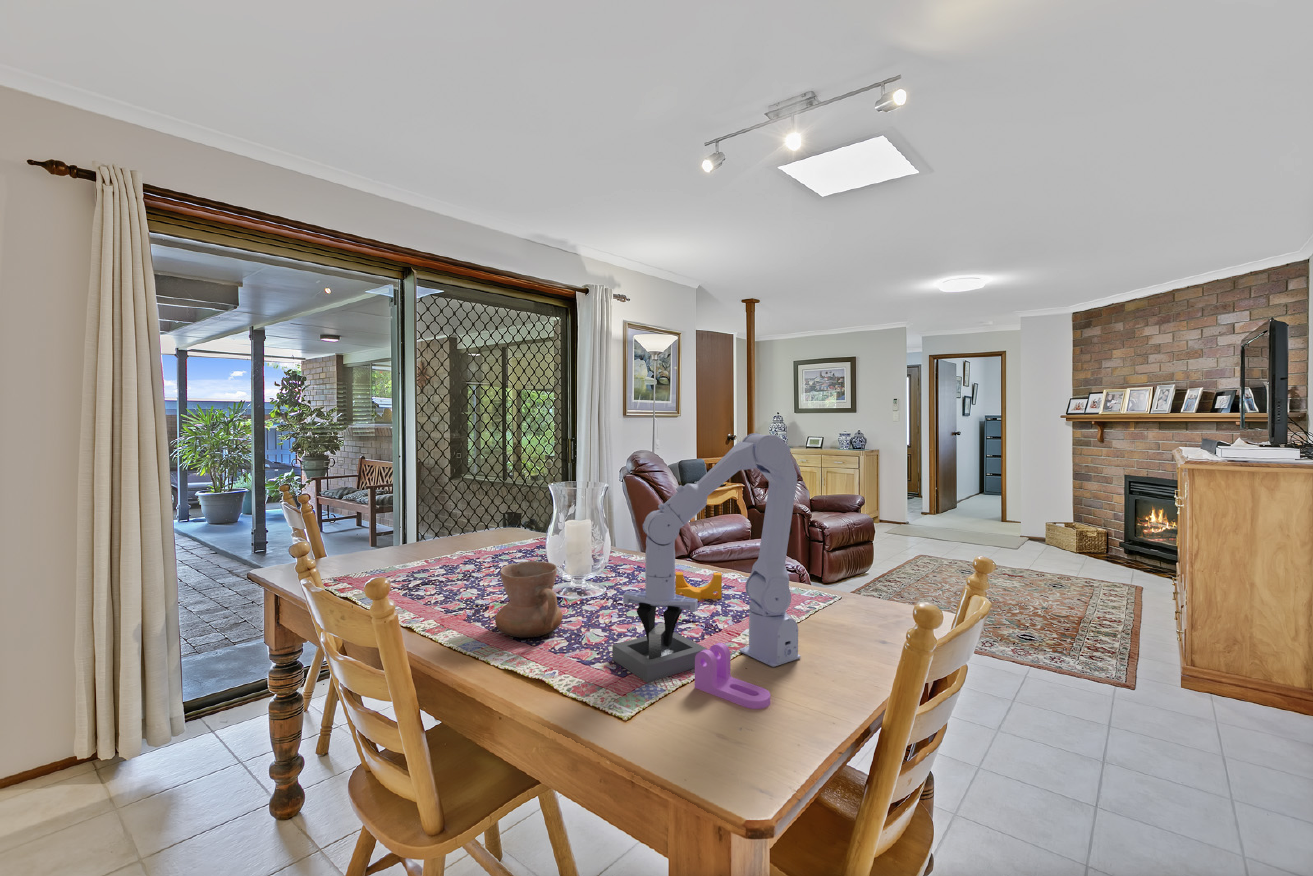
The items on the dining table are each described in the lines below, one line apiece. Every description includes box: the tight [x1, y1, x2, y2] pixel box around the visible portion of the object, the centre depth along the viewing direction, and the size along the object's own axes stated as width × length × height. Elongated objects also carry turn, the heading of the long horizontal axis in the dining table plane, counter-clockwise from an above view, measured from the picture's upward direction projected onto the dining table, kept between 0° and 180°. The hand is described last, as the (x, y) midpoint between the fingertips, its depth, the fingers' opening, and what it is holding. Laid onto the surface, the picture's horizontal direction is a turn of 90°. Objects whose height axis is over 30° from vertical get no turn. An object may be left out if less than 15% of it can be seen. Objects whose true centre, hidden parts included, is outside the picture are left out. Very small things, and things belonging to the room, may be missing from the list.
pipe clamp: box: [675, 571, 723, 602], centre depth 155 cm, size 12×4×6 cm, turn 89°
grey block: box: [647, 622, 674, 660], centre depth 114 cm, size 4×6×6 cm, turn 161°
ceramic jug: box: [494, 560, 564, 638], centre depth 130 cm, size 18×14×14 cm
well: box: [611, 631, 709, 683], centre depth 114 cm, size 12×14×3 cm
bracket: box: [694, 642, 771, 710], centre depth 102 cm, size 13×6×7 cm, turn 49°
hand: (659, 643), depth 114 cm, fingers open, 3 cm apart
